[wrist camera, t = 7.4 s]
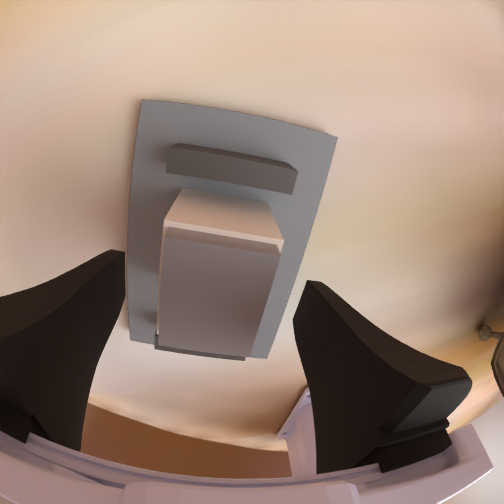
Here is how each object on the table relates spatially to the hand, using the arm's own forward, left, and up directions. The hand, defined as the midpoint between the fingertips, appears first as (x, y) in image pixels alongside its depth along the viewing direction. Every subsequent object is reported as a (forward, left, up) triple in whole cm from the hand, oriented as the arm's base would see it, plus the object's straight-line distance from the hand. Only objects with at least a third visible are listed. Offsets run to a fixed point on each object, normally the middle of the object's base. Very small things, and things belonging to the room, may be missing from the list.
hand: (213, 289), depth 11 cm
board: (0, 0, -5) cm, 5 cm away
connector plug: (0, 0, -4) cm, 4 cm away
